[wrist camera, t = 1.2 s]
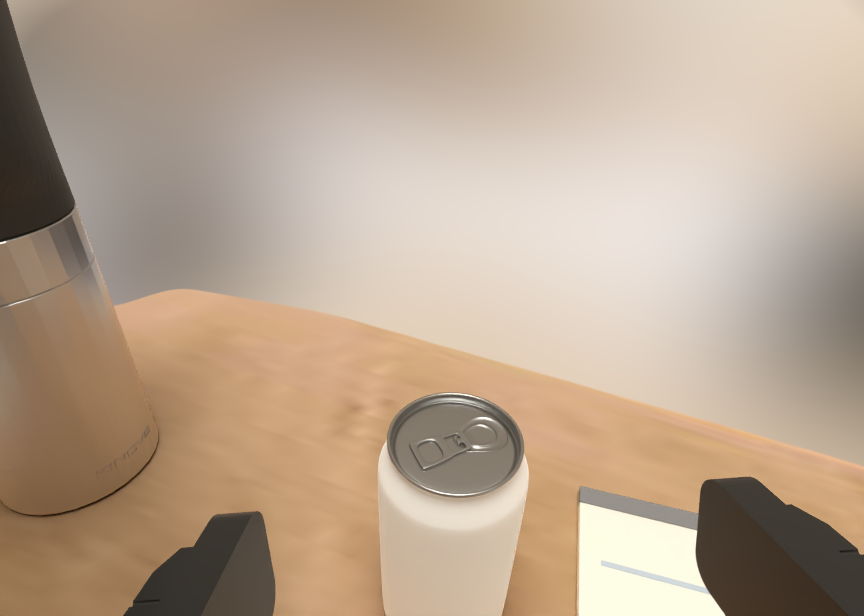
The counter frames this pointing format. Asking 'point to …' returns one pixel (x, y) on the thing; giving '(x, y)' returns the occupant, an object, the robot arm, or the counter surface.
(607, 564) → the notepad
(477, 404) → the can
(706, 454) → the counter surface
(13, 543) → the counter surface
